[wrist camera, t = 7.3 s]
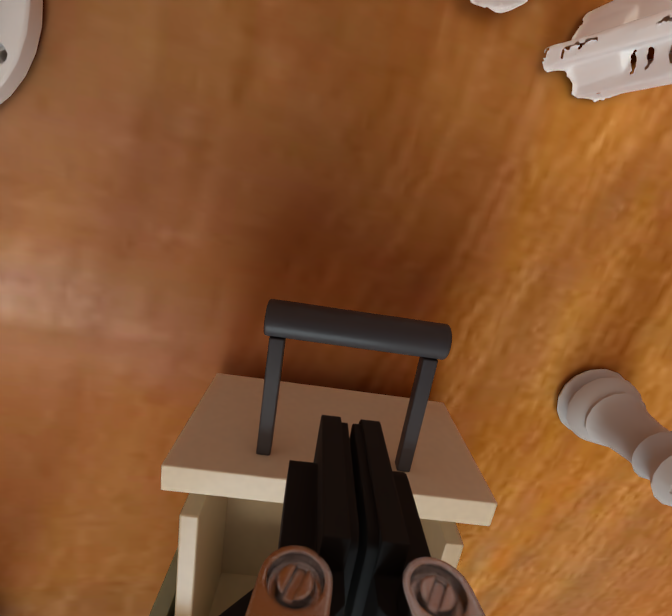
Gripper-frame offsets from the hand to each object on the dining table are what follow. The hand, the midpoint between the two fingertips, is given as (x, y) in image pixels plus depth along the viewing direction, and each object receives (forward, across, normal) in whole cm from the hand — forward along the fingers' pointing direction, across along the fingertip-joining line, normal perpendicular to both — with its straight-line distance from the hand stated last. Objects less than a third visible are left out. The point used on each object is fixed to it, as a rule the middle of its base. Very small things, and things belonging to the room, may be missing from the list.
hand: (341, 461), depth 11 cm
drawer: (+11, -1, +8) cm, 13 cm away
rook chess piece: (+12, -17, +3) cm, 21 cm away
